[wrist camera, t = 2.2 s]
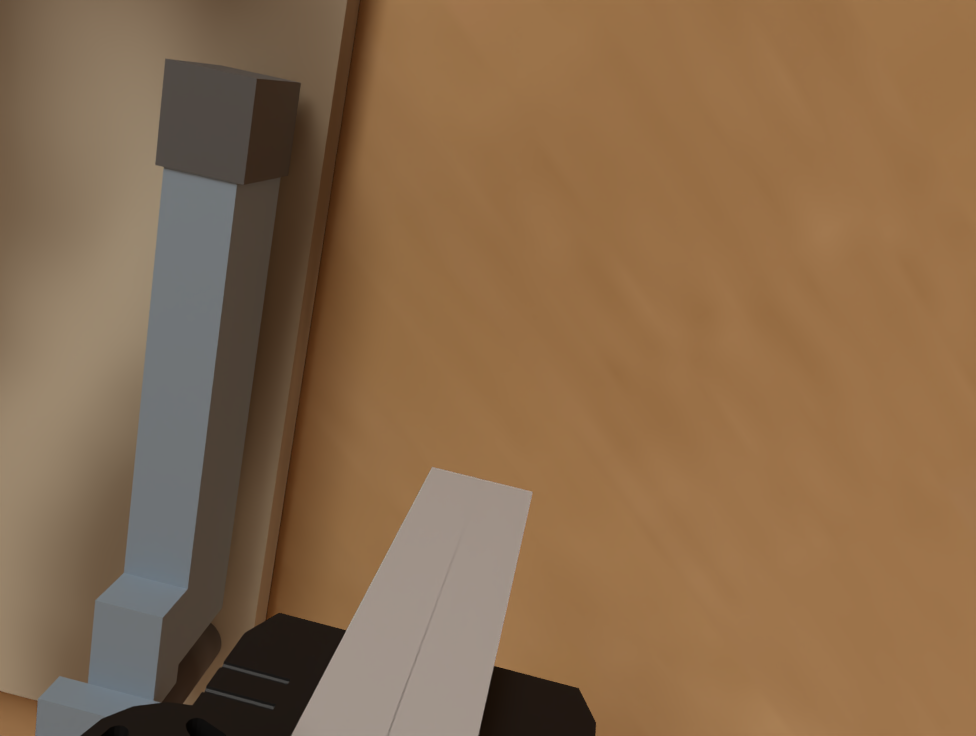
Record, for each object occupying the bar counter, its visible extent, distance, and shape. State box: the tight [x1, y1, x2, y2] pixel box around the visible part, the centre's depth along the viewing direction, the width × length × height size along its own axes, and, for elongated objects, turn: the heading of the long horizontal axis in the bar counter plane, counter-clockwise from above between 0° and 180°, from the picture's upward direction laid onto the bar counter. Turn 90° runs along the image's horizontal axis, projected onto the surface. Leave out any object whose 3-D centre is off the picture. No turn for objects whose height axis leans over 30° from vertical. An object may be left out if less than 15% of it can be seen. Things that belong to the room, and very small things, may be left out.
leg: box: [35, 59, 301, 736], centre depth 20 cm, size 16×3×5 cm, turn 168°
